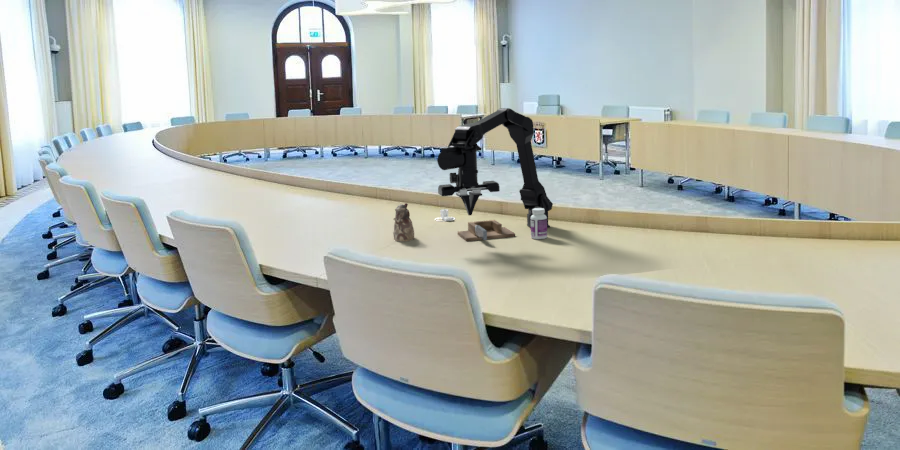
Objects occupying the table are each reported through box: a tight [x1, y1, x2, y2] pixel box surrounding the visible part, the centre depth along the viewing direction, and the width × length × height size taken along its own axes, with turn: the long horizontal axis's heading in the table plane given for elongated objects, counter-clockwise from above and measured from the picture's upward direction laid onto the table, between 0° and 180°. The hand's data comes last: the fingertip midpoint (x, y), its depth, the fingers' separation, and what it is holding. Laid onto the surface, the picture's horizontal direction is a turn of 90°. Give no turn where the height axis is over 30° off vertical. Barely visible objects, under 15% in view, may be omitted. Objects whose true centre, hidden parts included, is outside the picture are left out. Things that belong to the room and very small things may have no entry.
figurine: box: [392, 202, 415, 242], centre depth 232 cm, size 7×7×12 cm
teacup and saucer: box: [434, 208, 456, 222], centre depth 263 cm, size 9×8×4 cm
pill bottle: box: [530, 208, 548, 240], centre depth 226 cm, size 5×5×10 cm
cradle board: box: [457, 219, 516, 242], centre depth 233 cm, size 17×11×4 cm, turn 104°
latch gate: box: [475, 225, 488, 241], centre depth 225 cm, size 9×2×3 cm, turn 14°
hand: (469, 215), depth 219 cm, fingers closed
